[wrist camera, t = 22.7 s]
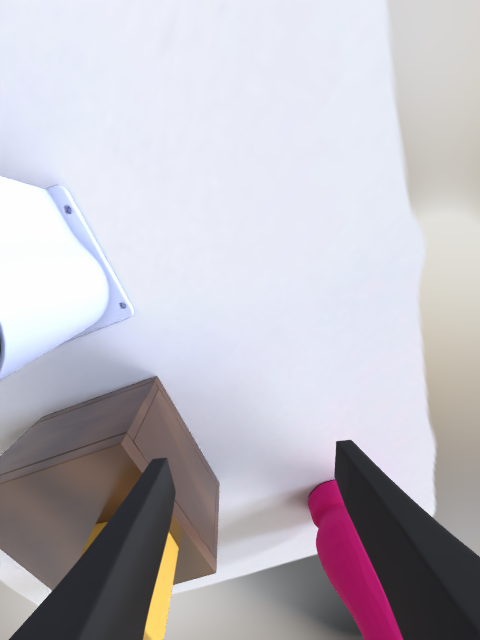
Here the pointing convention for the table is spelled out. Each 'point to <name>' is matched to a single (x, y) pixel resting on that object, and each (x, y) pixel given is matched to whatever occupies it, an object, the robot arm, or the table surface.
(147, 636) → the mustard block
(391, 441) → the table surface
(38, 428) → the box
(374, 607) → the pepper mill
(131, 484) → the box lid
